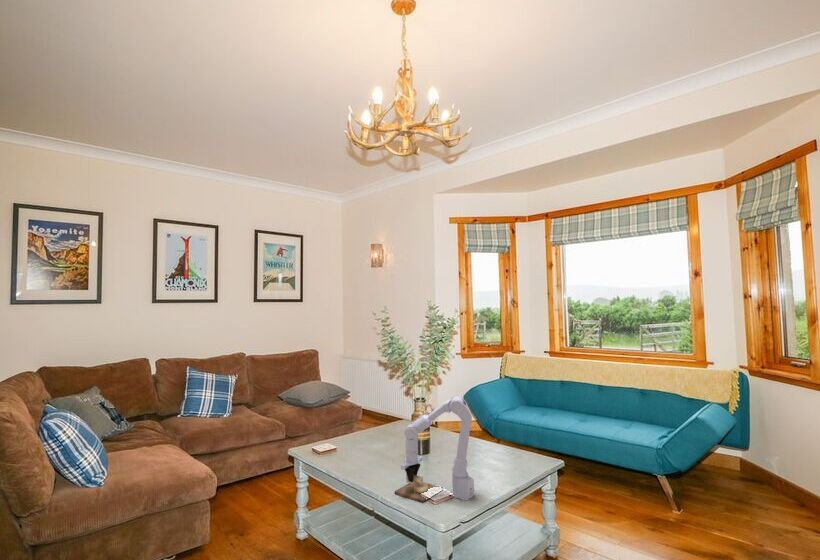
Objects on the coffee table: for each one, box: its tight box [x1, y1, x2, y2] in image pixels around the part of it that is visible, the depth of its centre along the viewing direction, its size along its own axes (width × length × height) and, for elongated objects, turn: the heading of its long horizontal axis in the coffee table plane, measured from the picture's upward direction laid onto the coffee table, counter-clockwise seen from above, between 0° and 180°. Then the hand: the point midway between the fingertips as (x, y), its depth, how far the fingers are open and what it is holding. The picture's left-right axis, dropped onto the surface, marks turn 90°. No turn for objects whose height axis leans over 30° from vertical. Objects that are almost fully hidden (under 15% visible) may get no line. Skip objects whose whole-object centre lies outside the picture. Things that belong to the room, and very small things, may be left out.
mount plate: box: [394, 481, 444, 504], centre depth 207 cm, size 16×16×1 cm
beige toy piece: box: [405, 473, 428, 494], centre depth 207 cm, size 11×6×6 cm, turn 53°
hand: (412, 480), depth 208 cm, fingers closed on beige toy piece, 2 cm apart
